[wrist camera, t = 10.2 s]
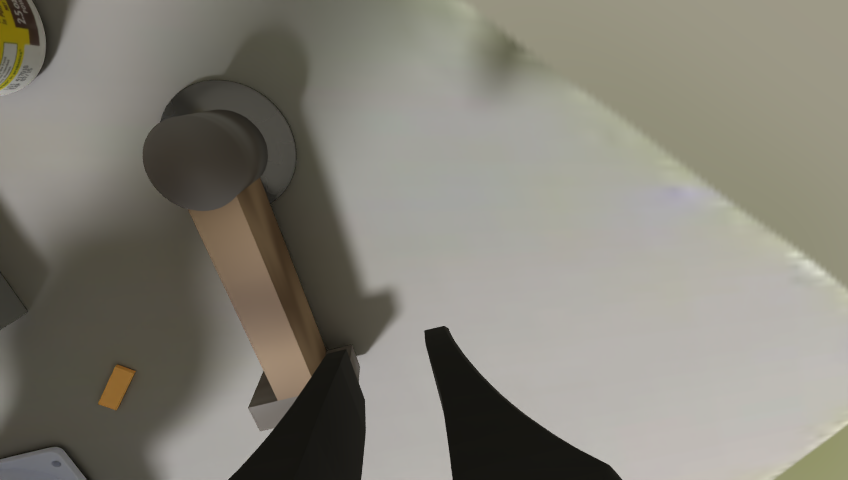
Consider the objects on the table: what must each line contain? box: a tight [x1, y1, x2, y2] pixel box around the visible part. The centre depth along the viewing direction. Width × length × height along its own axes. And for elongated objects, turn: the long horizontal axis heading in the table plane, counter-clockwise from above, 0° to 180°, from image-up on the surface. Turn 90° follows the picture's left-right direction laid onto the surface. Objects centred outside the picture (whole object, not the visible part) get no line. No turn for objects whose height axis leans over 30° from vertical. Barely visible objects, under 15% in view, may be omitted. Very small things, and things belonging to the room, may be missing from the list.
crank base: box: [160, 80, 296, 203], centre depth 19 cm, size 6×6×1 cm
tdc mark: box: [98, 364, 136, 410], centre depth 23 cm, size 3×1×1 cm, turn 147°
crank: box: [143, 110, 360, 431], centre depth 19 cm, size 15×5×3 cm, turn 12°
